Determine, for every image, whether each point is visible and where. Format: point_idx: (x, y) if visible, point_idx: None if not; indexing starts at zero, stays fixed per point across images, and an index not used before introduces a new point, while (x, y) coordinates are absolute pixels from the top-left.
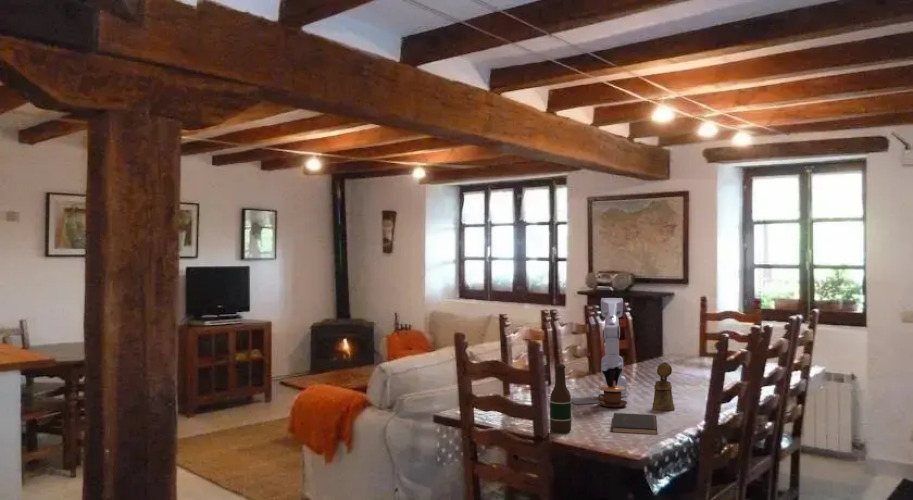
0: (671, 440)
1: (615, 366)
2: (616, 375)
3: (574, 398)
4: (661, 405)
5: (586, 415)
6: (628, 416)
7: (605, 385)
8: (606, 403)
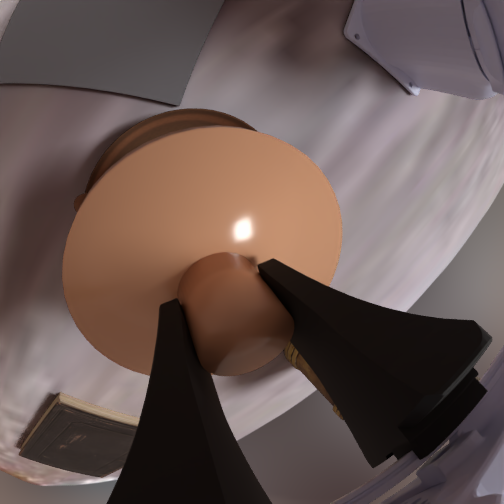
0: (107, 480)
1: None
2: (333, 391)
3: None
4: (298, 368)
5: None
6: (88, 436)
7: (230, 174)
8: None
